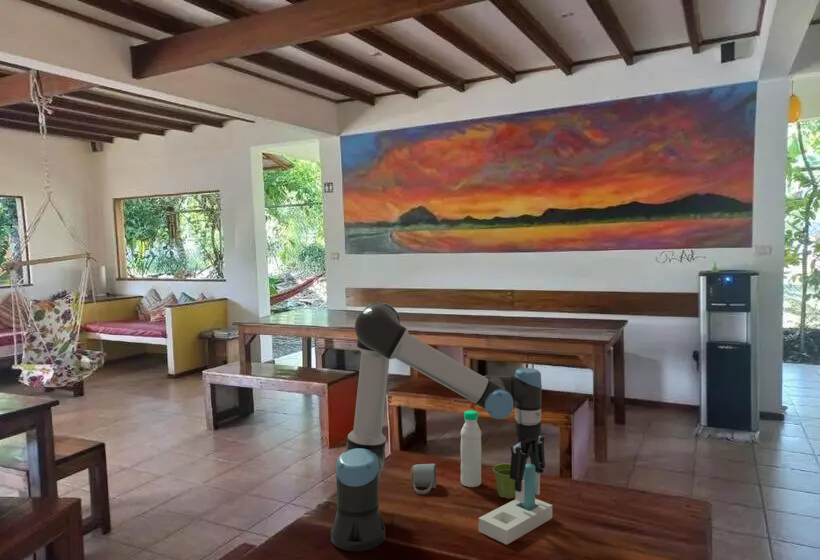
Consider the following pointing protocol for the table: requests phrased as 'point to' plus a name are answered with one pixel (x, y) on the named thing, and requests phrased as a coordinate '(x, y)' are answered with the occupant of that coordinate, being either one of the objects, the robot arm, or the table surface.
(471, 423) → the water bottle
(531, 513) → the hole block
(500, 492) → the plant pot
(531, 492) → the teal pin
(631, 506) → the table surface
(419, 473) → the ceramic mug
